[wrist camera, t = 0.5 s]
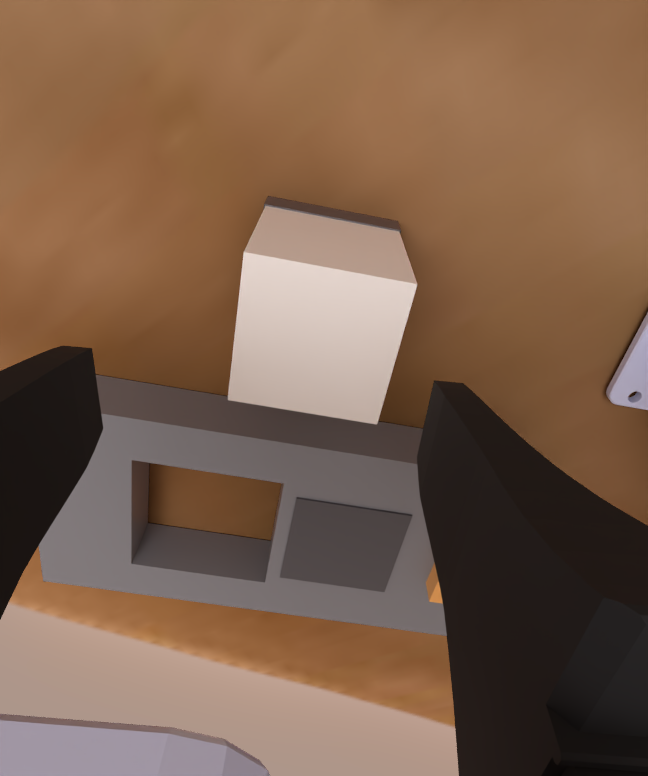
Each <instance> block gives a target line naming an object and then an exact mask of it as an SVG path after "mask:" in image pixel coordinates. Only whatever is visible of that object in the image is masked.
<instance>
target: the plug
mask: <svg viewBox="0 0 648 776" xmlns="http://www.w3.org/2000/svg"><path fill="white" fill-rule="evenodd" d="M400 233H401V229H400V226H399V223H398V221H395V220H390V219H384V218H379V217H374V216H369V215H364V214H359V213H354V212H348V211H343V210H338V209H333V208H328V207H323V206H318V205H312V204H307V203H302V202H297V201H292V200H287V199H281V198H276V197H271V196H268V197H267V199H266V201H265V203H264V210H263V212H262V215H261V217H260V219H259V221H258V223H257V225H256V227H255V229H254V232H253V234H252V236H251V238H250V240H249V242H248V244H247V246H246V248H245V251H244V255H243V264H242V273H241V282H240V291H239V300H238V310H237V319H236V328H235V337H234V346H233V355H232V364H231V373H230V382H229V391H228V400H231V401H237V402H243V403H249V404H255V405H261V406H267V407H273V408H279V409H286V410H292V411H298V412H304V413H310V414H316V415H322V416H328V417H334V418H340V419H346V420H352V421H358V422H364V423H371V424H377V423H378V420H379V416H380V413H381V409H382V406H383V402H384V399H385V395H386V392H387V388H388V385H389V381H390V378H391V374H392V371H393V368H394V364H395V361H396V357H397V354H398V350H399V347H400V343H401V340H402V336H403V333H404V329H405V326H406V322H407V319H408V315H409V312H410V308H411V305H412V301H413V298H414V294H415V291H416V287H417V282H416V279H415V276H414V273H413V270H412V267H411V264H410V261H409V258H408V256H407V253H406V250H405V247H404V244H403V241H402V238H401V235H400Z"/></svg>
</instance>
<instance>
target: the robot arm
mask: <svg viewBox="0 0 648 776" xmlns="http://www.w3.org/2000/svg"><path fill="white" fill-rule="evenodd" d="M636 391H637V393H636V394H635V395H634V396H632V397H628V396H629V395H630V394H631V393H633V392H636ZM606 395H607V397H608V399H609V400H610V401H611V402H612V403H613V404H616V405H621V406H627V407H632V408H638V409H644V410H648V313H647V315H646V316H645V318H644V320H643V322H642V324H641V326H640V328H639V330H638V331H637V333H636V335H635V337H634V339H633V341H632V343H631V345H630V346H629V348H628V350H627V352H626V354H625V356H624V358H623V360H622V361H621V363H620V365H619V367H618V369H617V371H616V373H615V375H614V376H613V378H612V380H611V382H610V384H609V386H608V388H607V391H606ZM102 431H103V422H102V415H101V408H100V401H99V394H98V388H97V381H96V374H95V367H94V360H93V353H92V348H82V347H71V346H60V347H57V348H54V349H51V350H48V351H46V352H43V353H41V354H38V355H36V356H33V357H31V358H29V359H26V360H24V361H22V362H20V363H17V364H15V365H13V366H11V367H8V368H6V369H4V370H2V371H0V619H1V617H2V615H3V612H4V610H5V608H6V606H7V604H8V602H9V600H10V598H11V596H12V594H13V592H14V590H15V588H16V586H17V583H18V581H19V579H20V577H21V575H22V573H23V571H24V569H25V568H26V566H27V564H28V562H29V561H30V559H31V557H32V555H33V554H34V552H35V550H36V549H37V547H38V545H39V544H40V542H41V541H42V539H43V537H44V536H45V534H46V533H47V531H48V530H49V528H50V526H51V525H52V523H53V522H54V520H55V518H56V517H57V515H58V514H59V512H60V510H61V509H62V507H63V506H64V504H65V502H66V501H67V499H68V498H69V496H70V494H71V493H72V491H73V490H74V488H75V486H76V485H77V483H78V481H79V480H80V478H81V477H82V475H83V473H84V471H85V470H86V468H87V466H88V464H89V462H90V459H91V457H92V455H93V453H94V451H95V448H96V446H97V443H98V441H99V438H100V436H101V433H102ZM417 467H418V481H419V492H420V499H421V504H422V509H423V514H424V518H425V523H426V527H427V532H428V536H429V541H430V545H431V549H432V554H433V558H434V563H435V567H436V572H437V576H438V581H439V585H440V590H441V596H442V601H443V607H444V615H445V624H446V633H447V642H448V651H449V661H450V671H451V681H452V692H453V702H454V715H455V728H456V741H457V753H458V768H459V776H648V526H647V525H645V524H644V523H642V522H640V521H638V520H637V519H635V518H633V517H632V516H630V515H628V514H626V513H625V512H623V511H621V510H620V509H618V508H616V507H614V506H613V505H611V504H610V503H608V502H607V501H605V500H603V499H602V498H600V497H599V496H597V495H596V494H594V493H593V492H591V491H590V490H588V489H587V488H585V487H584V486H583V485H581V484H580V483H578V482H577V481H575V480H574V479H572V478H571V477H569V476H568V475H567V474H565V473H564V472H563V471H561V470H560V469H559V468H557V467H556V466H555V465H554V464H552V463H551V462H550V461H549V460H547V459H546V458H545V457H544V456H543V455H541V454H540V453H539V452H538V451H536V450H535V449H534V448H533V447H532V446H530V445H529V444H528V443H527V442H526V441H525V440H524V439H522V438H521V437H520V436H519V435H518V434H517V433H516V432H515V431H513V430H512V429H511V428H510V427H509V426H508V425H507V424H506V423H505V422H504V421H503V420H502V419H501V418H500V417H499V416H497V415H496V414H495V413H494V412H493V411H492V410H491V409H490V408H489V407H488V406H487V405H486V404H485V403H484V402H483V401H482V400H481V399H480V398H479V397H478V396H477V395H476V394H475V393H473V392H472V391H471V390H470V389H469V388H468V387H467V386H466V385H464V384H463V383H455V382H444V381H434V383H433V388H432V392H431V397H430V401H429V406H428V410H427V414H426V419H425V423H424V428H423V432H422V436H421V441H420V445H419V450H418V454H417ZM0 776H270V774H269V772H268V770H267V769H266V768H265V766H264V765H263V764H262V763H261V762H260V760H258V759H257V758H255V757H253V756H252V755H250V754H248V753H247V752H245V751H243V750H241V749H240V748H238V747H237V746H235V745H233V744H231V743H230V742H228V741H226V740H225V739H222V738H218V737H213V736H209V735H204V734H199V733H194V732H190V731H186V730H181V729H177V728H171V727H159V726H146V725H133V724H121V723H108V722H96V721H83V720H71V719H57V718H45V717H32V716H20V715H7V714H0Z"/></svg>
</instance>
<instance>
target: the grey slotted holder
mask: <svg viewBox="0 0 648 776" xmlns="http://www.w3.org/2000/svg"><path fill="white" fill-rule="evenodd" d="M96 381H97V388H98V394H99V401H100V408H101V415H102V422H103V431H102V433H101V436H100V438H99V441H98V443H97V446H96V448H95V451H94V453H93V455H92V457H91V459H90V462H89V464H88V466H87V468H86V470H85V471H84V473H83V475H82V477H81V478H80V480H79V481H78V483H77V485H76V486H75V488H74V490H73V491H72V493H71V494H70V496H69V498H68V499H67V501H66V502H65V504H64V506H63V507H62V509H61V510H60V512H59V514H58V515H57V517H56V518H55V520H54V522H53V523H52V525H51V526H50V528H49V530H48V531H47V533H46V534H45V536H44V537H43V539H42V541H41V542H40V544H39V551H40V559H41V567H42V575H43V581H47V582H55V583H62V584H69V585H77V586H84V587H91V588H99V589H106V590H113V591H121V592H128V593H135V594H143V595H150V596H157V597H165V598H172V599H179V600H187V601H194V602H201V603H209V604H216V605H223V606H231V607H238V608H246V609H253V610H260V611H268V612H275V613H282V614H290V615H297V616H304V617H312V618H319V619H326V620H334V621H341V622H348V623H356V624H363V625H370V626H378V627H385V628H392V629H400V630H407V631H414V632H422V633H429V634H437V635H444V636H447V633H446V624H445V615H444V607H443V601H442V596H441V590H440V585H439V581H438V576H437V572H436V567H435V563H434V558H433V554H432V549H431V545H430V541H429V536H428V532H427V527H426V523H425V518H424V514H423V509H422V504H421V499H420V492H419V481H418V467H417V454H418V450H419V445H420V441H421V436H422V432H423V429H422V428H416V427H410V426H404V425H398V424H392V423H385V422H379V421H378V423H377V424H371V423H364V422H358V421H352V420H346V419H340V418H334V417H328V416H322V415H316V414H310V413H304V412H298V411H292V410H286V409H279V408H273V407H267V406H261V405H255V404H249V403H243V402H237V401H231V400H228V396H222V395H216V394H210V393H204V392H198V391H192V390H186V389H180V388H174V387H168V386H162V385H156V384H150V383H144V382H137V381H131V380H125V379H119V378H113V377H107V376H101V375H96ZM149 463H154V464H160V465H167V466H173V467H180V468H186V469H193V470H199V471H206V472H212V473H219V474H225V475H232V476H238V477H245V478H251V479H258V480H264V481H271V482H277V483H282V484H281V489H280V495H279V500H278V505H277V510H276V516H275V521H274V526H273V532H272V537H271V541H268V540H261V539H254V538H247V537H241V536H234V535H227V534H220V533H213V532H206V531H200V530H193V529H186V528H179V527H172V526H165V525H159V524H152V523H148V499H149Z"/></svg>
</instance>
